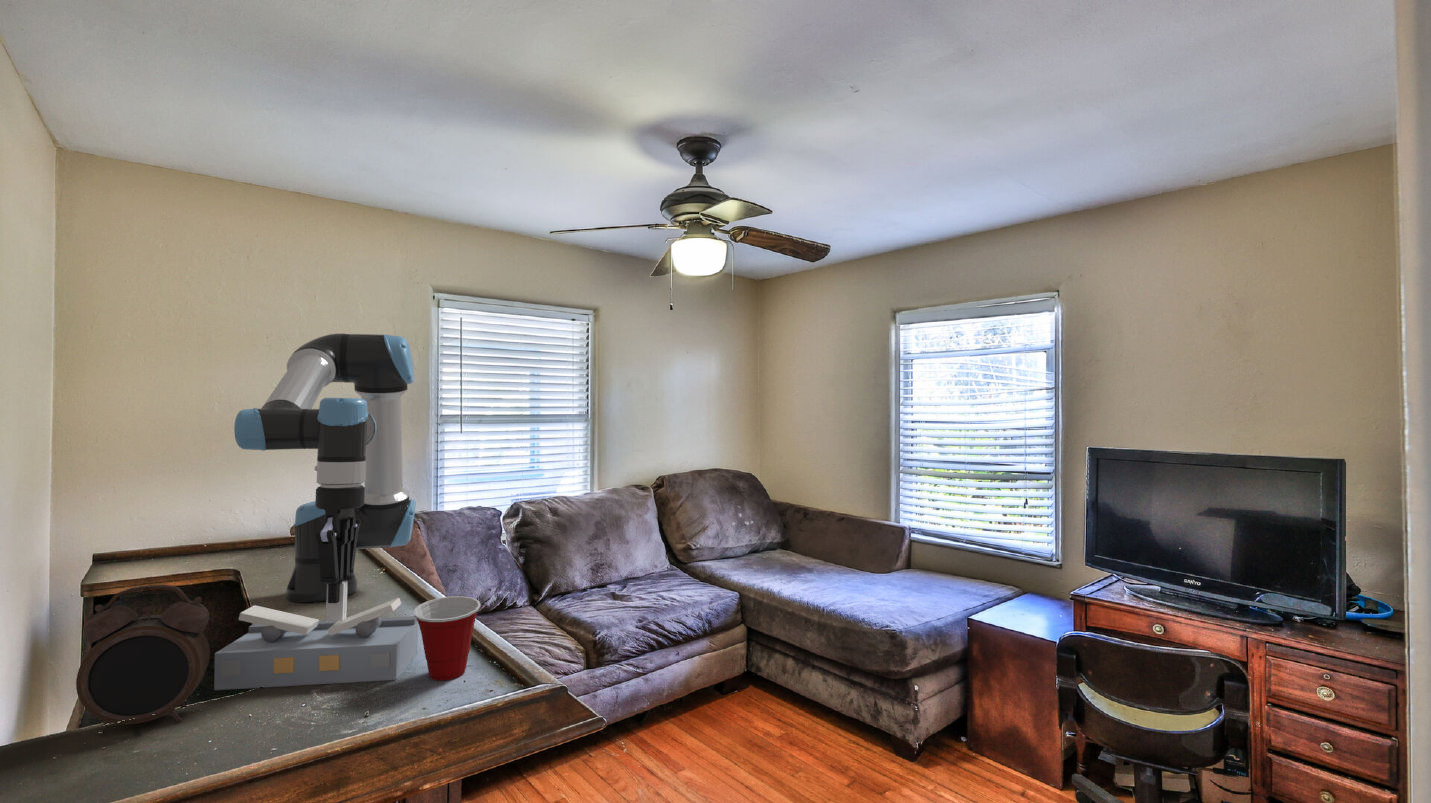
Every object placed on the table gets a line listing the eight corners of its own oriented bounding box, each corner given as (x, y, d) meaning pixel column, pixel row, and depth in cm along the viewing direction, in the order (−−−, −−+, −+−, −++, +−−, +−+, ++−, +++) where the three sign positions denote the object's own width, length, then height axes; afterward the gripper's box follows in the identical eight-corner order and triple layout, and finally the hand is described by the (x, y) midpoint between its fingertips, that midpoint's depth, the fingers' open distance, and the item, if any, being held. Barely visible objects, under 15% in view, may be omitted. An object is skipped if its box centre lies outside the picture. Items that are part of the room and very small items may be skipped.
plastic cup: (407, 691, 107) (407, 617, 107) (418, 665, 118) (419, 598, 118) (477, 683, 110) (477, 611, 110) (483, 659, 120) (483, 594, 120)
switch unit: (254, 661, 119) (254, 623, 119) (417, 653, 123) (417, 616, 123) (213, 690, 107) (213, 647, 107) (395, 680, 111) (395, 638, 111)
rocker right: (345, 640, 118) (337, 621, 118) (406, 616, 120) (399, 597, 119) (335, 649, 114) (327, 629, 113) (398, 624, 115) (390, 604, 115)
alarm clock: (69, 746, 89) (70, 599, 90) (90, 723, 96) (91, 586, 96) (201, 723, 96) (202, 586, 96) (213, 703, 102) (214, 575, 103)
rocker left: (248, 625, 116) (254, 605, 116) (312, 639, 117) (319, 619, 117) (233, 634, 111) (240, 612, 111) (301, 648, 113) (307, 627, 113)
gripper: (334, 480, 122) (329, 608, 121) (299, 489, 109) (294, 632, 108) (377, 481, 123) (372, 608, 122) (348, 489, 110) (343, 631, 109)
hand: (336, 619), depth 115 cm, fingers closed
